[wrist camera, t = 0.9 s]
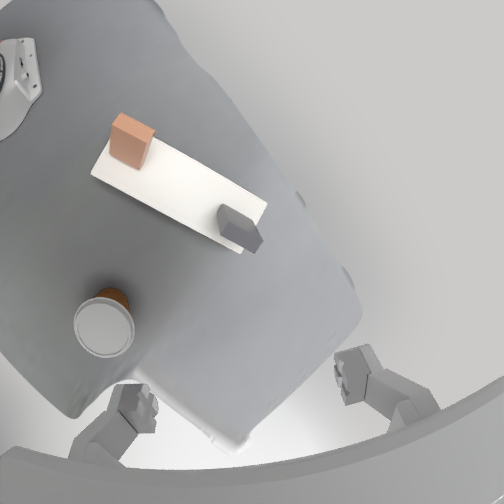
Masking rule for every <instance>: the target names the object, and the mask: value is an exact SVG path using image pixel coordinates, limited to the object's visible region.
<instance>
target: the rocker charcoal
mask: <svg viewBox="0 0 504 504" xmlns="http://www.w3.org/2000/svg"><path fill="white" fill-rule="evenodd" d="M217 221H218V226H219V232H220V235H221V236H222V237H224V238H226V239H228V240H230V241H232V242H234V243H235V244H237V245H239V246H241V247H243V248H245V249H247V250H248V251H250V252H252V253H255V252H256V251H257V249H258V248H259V246H260V245H261V243H262V242H263V239H262V238H261V236H260V234H259V232H258V230H257V228H256V226H255V224H254V222H253V220H251V219H250V218H248V217H246V216H245V215H243V214H241V213H239V212H238V211H236V210H234V209H232V208H231V207H229V206H227V205H226V204H221V206H220V207H219V209H218V211H217Z"/></svg>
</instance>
